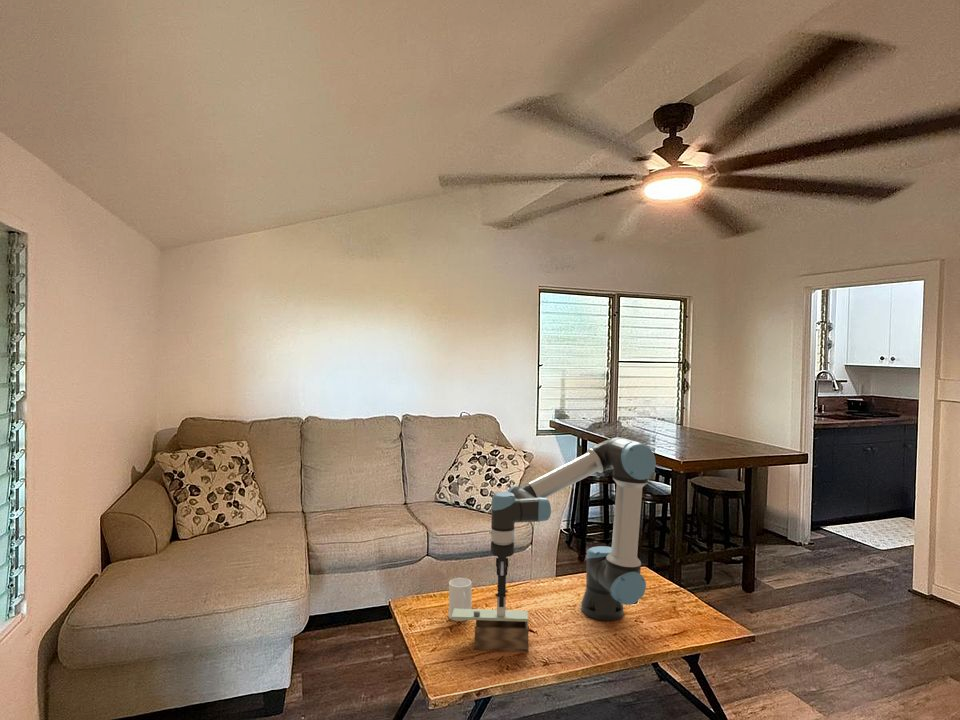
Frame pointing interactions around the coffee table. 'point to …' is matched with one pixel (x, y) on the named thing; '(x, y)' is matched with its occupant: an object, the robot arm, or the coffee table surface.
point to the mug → (459, 595)
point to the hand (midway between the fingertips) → (501, 614)
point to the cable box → (501, 635)
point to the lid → (489, 615)
